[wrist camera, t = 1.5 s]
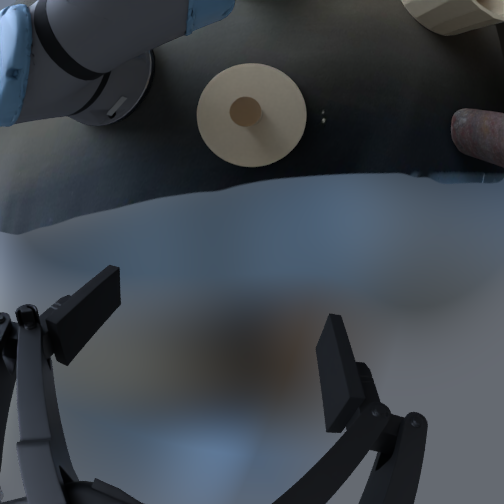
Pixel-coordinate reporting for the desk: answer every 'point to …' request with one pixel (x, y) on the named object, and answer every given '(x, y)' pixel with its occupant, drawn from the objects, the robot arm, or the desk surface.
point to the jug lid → (251, 115)
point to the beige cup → (455, 14)
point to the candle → (479, 134)
